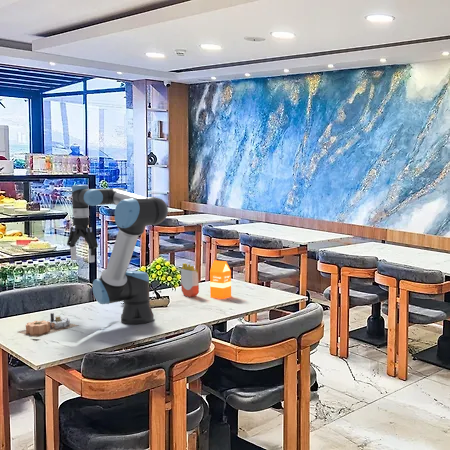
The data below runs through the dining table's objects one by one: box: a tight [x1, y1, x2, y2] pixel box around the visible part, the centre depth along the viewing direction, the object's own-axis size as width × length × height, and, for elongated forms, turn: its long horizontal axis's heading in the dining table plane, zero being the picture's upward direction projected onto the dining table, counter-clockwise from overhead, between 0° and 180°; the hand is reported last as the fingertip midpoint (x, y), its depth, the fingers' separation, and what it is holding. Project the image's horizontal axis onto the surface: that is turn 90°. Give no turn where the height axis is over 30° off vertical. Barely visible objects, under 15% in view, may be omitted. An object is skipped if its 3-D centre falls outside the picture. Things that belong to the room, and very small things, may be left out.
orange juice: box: [209, 259, 232, 300], centre depth 315 cm, size 8×9×20 cm
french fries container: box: [180, 263, 200, 298], centre depth 319 cm, size 5×11×18 cm, turn 39°
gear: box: [46, 312, 71, 329], centre depth 255 cm, size 10×10×6 cm
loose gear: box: [25, 319, 50, 335], centre depth 247 cm, size 10×10×4 cm
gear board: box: [17, 316, 79, 342], centre depth 251 cm, size 14×22×6 cm, turn 143°
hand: (82, 261), depth 277 cm, fingers open, 13 cm apart
